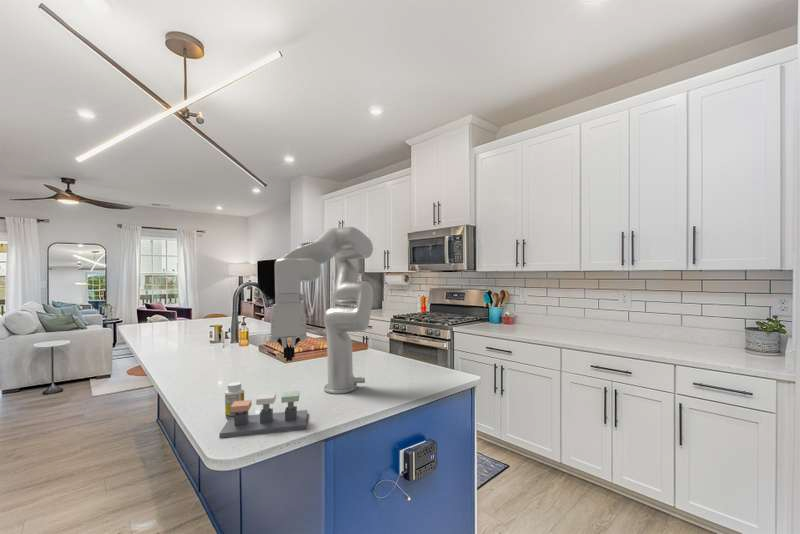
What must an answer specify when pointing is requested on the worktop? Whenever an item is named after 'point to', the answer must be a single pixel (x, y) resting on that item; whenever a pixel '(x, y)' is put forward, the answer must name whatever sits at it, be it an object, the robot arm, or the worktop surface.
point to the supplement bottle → (233, 397)
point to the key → (241, 406)
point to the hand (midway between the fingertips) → (289, 360)
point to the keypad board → (264, 422)
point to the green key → (290, 398)
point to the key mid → (266, 400)
